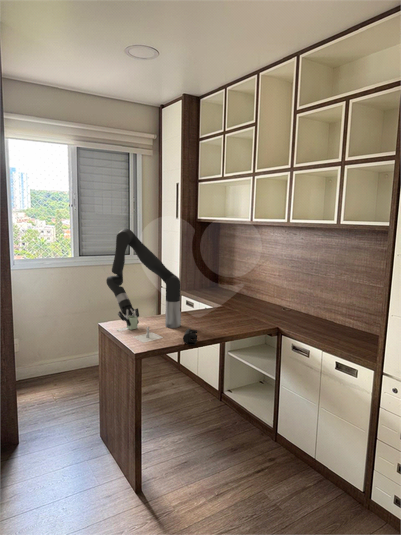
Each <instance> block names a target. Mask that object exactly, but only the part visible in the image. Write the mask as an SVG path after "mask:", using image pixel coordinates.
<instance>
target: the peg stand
mask: <svg viewBox="0 0 401 535" xmlns="http://www.w3.org/2000/svg"><path fill="white" fill-rule="evenodd" d="M132 338H133V339H135V340H137V341H139V342H140V343H142V344H144V343H148V342H152V341H156V340H160V339H163V338H164V337H163V336H161V335H159V334H157V333H154V332H150V326H146V333H144V334H140V335H135V336H132Z"/></svg>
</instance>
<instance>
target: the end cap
mask: <svg viewBox="0 0 401 535" xmlns="http://www.w3.org/2000/svg"><path fill="white" fill-rule="evenodd" d="M182 341H183V343H185V344H186V345H188V346H196V345H197V341H198V330H197V329H192V328H188V329H186V330H185V332H184V335H183V336H182Z"/></svg>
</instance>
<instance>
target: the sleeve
mask: <svg viewBox="0 0 401 535" xmlns="http://www.w3.org/2000/svg"><path fill="white" fill-rule="evenodd" d="M128 319H129V321H130V323H131V325H130V326H128V325H127V324H126V327H127V328H128V329H127V330H130V331H131V330H135V329H138V328H139V326H138V325H139V323H138V321H139V317H136V316H128Z"/></svg>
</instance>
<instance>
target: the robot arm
mask: <svg viewBox="0 0 401 535" xmlns="http://www.w3.org/2000/svg"><path fill="white" fill-rule="evenodd" d="M128 246H129V247H130V248H131V249H132V250H134V253H135V254H136V256H137V258H138V259H139V261H140V262H141V263H142V264H143V265H144V266H145V267H146V268H147V269H148V270H150V271H151V272H152V273H153V274H155V275H156V276H158V277H159V278H160V279H161V280H162V281H163V283H165V323H164V324H165V325H164V326H165V327H166V328H167V329H177V328H179V327H180V326H182V312H181V280H180V278H179V277H178V276H177V275H176V274H174V273H173V272H172V271H171V270H169V269H168V267H166V266H165V264H163V261H161V260H160V259H159V258H158V257H157V255H155V253H153V252H152V250H150V249H149V248H148V246H146V245H145V244H144V243H143V242H142V241H141V240H140V239H139V238H138V237H137V235H136V234H135V233H134V232H133V231H132V230H131V229H129V228H127V227H126V228H122V229H121V230H120V231H119V232H117V234H116V238H115V252H114V258H113V262H112V266H111V267H112V268H111V272H112V274H114V275H110V276H107V278H106V279H105V280H106V285H107V286H108V288H109V289H110V290H111V292H112V293H113V294H114V296H115V299H116V302H117V304H118V307H119V309H120V310H119V312H118V313H117V315H118V316H119V318H120V320H121V321H122V322H125V323H126V326H127V325H128V326H130V325H131V323H130V321H129V319H128V317H129V316H136V317H138V318H139V317H140V313H139V308H137V307H136V308H134V307H133V305H132V302H131V300H130V297H129V296H128V294H127V292H126V290H125V288H124V287H123V286H122V285H123V283H124V275H123V274H124V267H125V261H126V252H127V248H128ZM138 324H139V320H138Z"/></svg>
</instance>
